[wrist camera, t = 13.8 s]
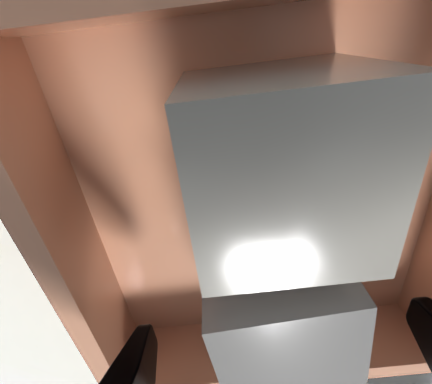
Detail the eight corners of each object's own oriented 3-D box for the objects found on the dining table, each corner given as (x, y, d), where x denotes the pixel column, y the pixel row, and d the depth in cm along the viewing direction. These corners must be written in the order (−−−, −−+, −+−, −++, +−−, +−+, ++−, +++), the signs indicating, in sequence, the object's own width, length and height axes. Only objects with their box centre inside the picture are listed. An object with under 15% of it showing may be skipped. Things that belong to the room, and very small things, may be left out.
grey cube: (315, 209, 10) (377, 308, 6) (317, 288, 12) (365, 396, 8) (203, 229, 10) (201, 334, 6) (223, 303, 12) (230, 414, 8)
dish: (522, -61, 7) (726, -122, 4) (403, 303, 13) (452, 370, 10) (-8, 8, 7) (-135, -8, 4) (128, 330, 13) (109, 402, 11)
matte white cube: (335, 52, 7) (454, 69, 4) (323, 186, 9) (394, 278, 6) (183, 71, 7) (164, 104, 4) (203, 200, 9) (202, 298, 6)
